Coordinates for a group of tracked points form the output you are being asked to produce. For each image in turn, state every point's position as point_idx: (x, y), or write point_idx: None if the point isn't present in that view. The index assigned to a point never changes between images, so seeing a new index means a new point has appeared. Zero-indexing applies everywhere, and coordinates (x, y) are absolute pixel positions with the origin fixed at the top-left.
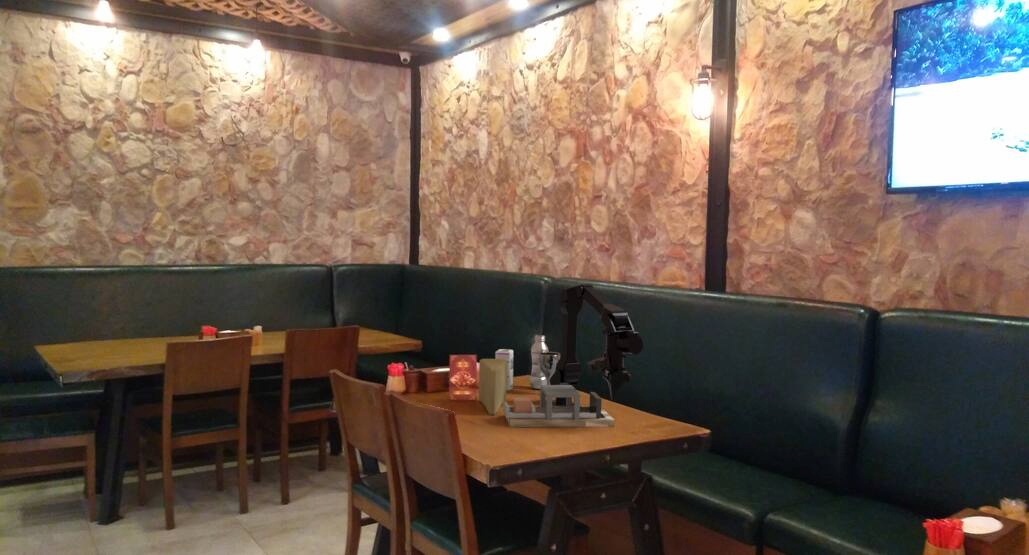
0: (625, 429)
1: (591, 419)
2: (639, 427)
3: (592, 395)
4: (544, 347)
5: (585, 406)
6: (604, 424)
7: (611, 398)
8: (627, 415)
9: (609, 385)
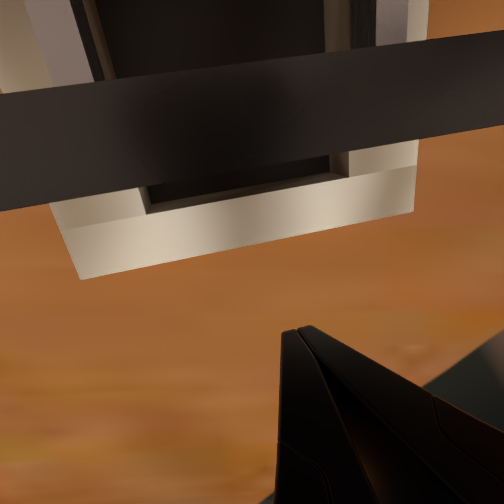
0: (42, 323)
1: (26, 63)
2: (126, 389)
3: (355, 52)
4: None
5: (382, 15)
6: None
7: (301, 330)
8: (390, 327)
9: (432, 472)
